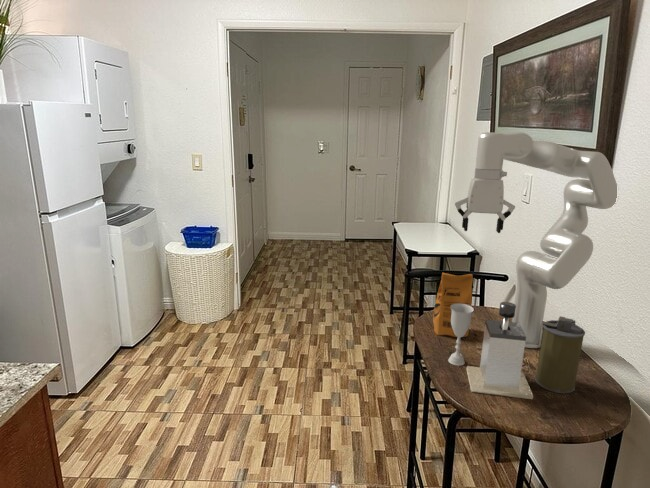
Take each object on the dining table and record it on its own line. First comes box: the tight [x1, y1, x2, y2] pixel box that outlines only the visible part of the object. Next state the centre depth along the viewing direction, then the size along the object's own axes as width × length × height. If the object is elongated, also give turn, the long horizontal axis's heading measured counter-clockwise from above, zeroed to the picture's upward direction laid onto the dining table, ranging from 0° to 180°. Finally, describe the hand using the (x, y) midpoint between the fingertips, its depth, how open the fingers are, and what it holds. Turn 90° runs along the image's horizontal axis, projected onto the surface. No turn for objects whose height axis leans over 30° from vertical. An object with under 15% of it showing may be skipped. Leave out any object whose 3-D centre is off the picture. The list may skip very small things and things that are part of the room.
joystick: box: [465, 319, 534, 400], centre depth 124 cm, size 16×12×17 cm
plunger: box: [498, 301, 516, 330], centre depth 123 cm, size 6×6×22 cm
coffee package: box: [432, 272, 474, 338], centre depth 156 cm, size 10×12×22 cm
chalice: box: [447, 303, 474, 367], centre depth 136 cm, size 7×7×18 cm
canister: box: [534, 316, 586, 394], centre depth 124 cm, size 11×10×20 cm
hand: (481, 231), depth 135 cm, fingers open, 9 cm apart
